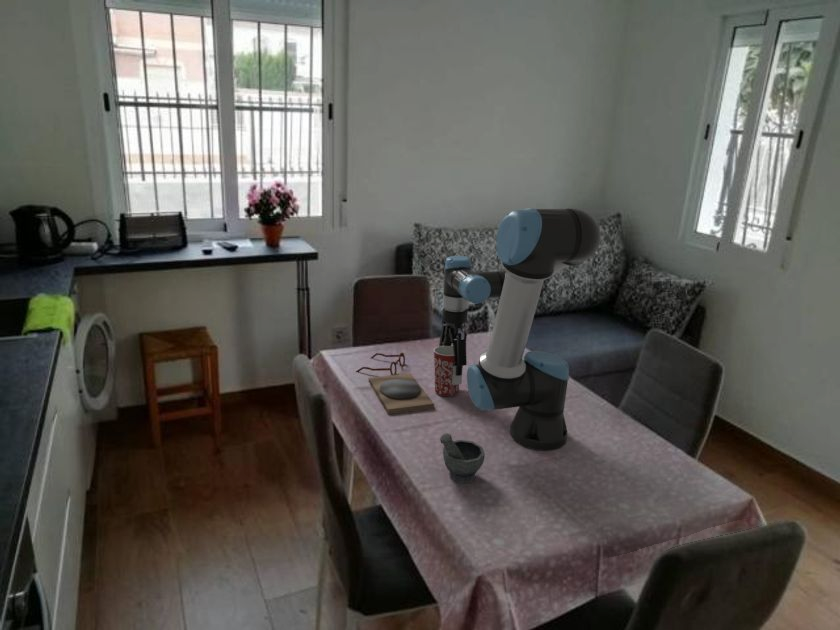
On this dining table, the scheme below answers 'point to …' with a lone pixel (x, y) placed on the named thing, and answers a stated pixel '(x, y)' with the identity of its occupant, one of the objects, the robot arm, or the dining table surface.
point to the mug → (444, 371)
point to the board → (400, 393)
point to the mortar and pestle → (462, 458)
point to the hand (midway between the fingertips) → (450, 377)
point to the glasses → (390, 365)
